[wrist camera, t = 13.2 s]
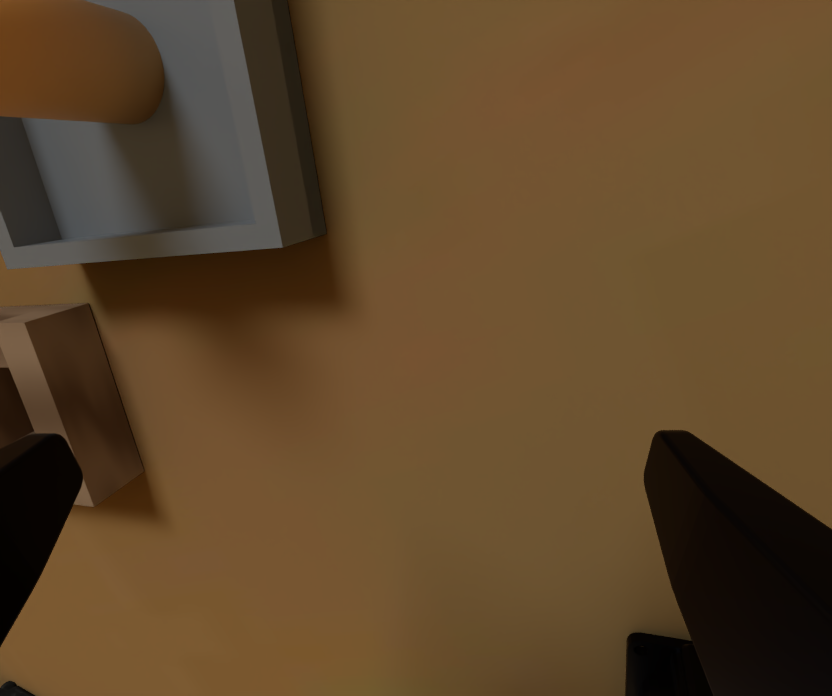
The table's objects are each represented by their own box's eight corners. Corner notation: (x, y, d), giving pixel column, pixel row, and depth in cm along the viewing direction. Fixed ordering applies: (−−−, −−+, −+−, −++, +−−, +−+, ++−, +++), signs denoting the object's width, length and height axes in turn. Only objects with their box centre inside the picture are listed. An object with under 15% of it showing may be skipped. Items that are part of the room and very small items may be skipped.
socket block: (144, 471, 26) (94, 507, 24) (23, 459, 29) (-34, 490, 27) (88, 303, 24) (24, 322, 21) (-40, 308, 26) (-111, 326, 24)
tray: (326, 233, 19) (282, 247, 16) (75, 255, 23) (7, 269, 20) (251, -212, 15) (175, -293, 12) (-38, -88, 19) (-143, -128, 16)
